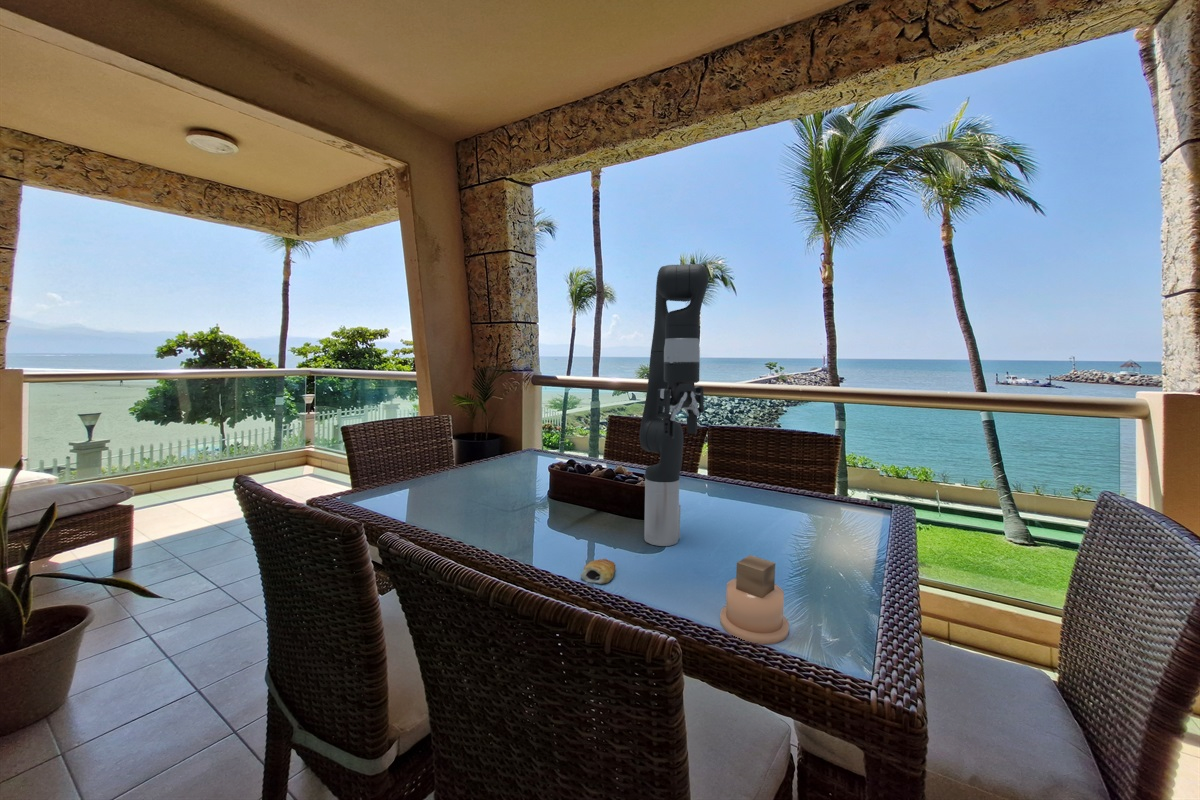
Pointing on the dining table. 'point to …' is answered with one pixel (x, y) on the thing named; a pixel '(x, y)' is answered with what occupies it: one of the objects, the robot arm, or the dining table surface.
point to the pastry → (598, 571)
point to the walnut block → (755, 576)
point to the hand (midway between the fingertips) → (680, 435)
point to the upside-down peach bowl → (754, 615)
